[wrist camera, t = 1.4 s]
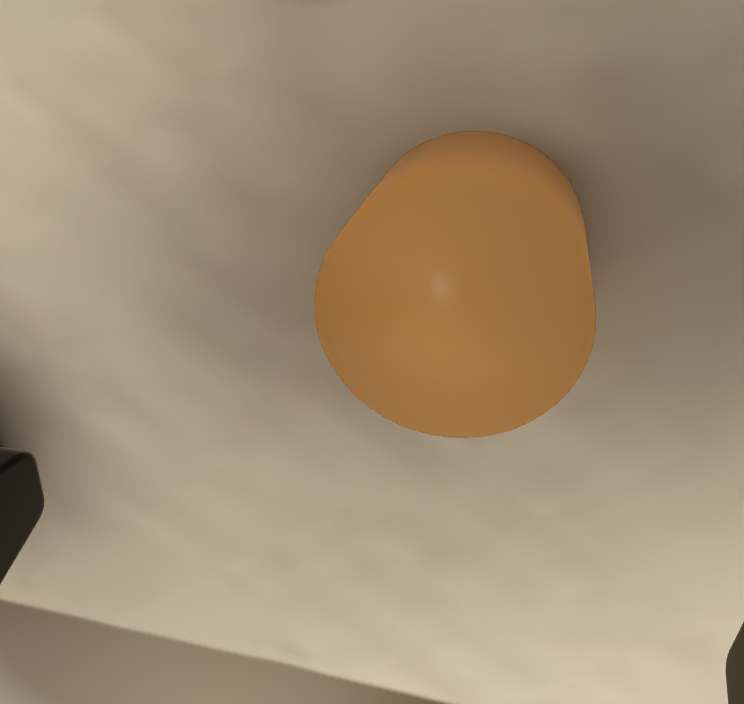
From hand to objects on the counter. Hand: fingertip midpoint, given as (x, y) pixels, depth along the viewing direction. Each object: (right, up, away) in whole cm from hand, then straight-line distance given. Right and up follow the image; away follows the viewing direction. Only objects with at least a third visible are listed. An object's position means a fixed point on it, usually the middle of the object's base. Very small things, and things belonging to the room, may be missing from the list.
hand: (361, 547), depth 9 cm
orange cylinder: (+3, +5, +10) cm, 12 cm away
